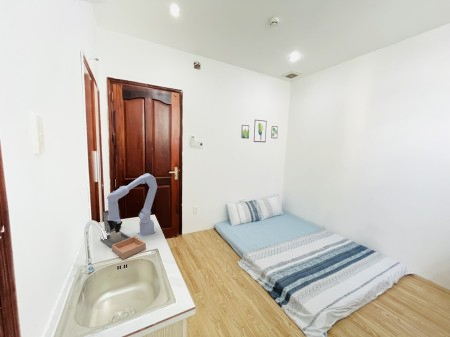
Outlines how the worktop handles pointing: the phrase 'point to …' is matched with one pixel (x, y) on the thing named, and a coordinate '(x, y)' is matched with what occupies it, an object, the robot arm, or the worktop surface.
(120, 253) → the bin
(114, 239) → the stone block
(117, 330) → the worktop surface
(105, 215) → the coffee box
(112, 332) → the worktop surface
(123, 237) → the tray
